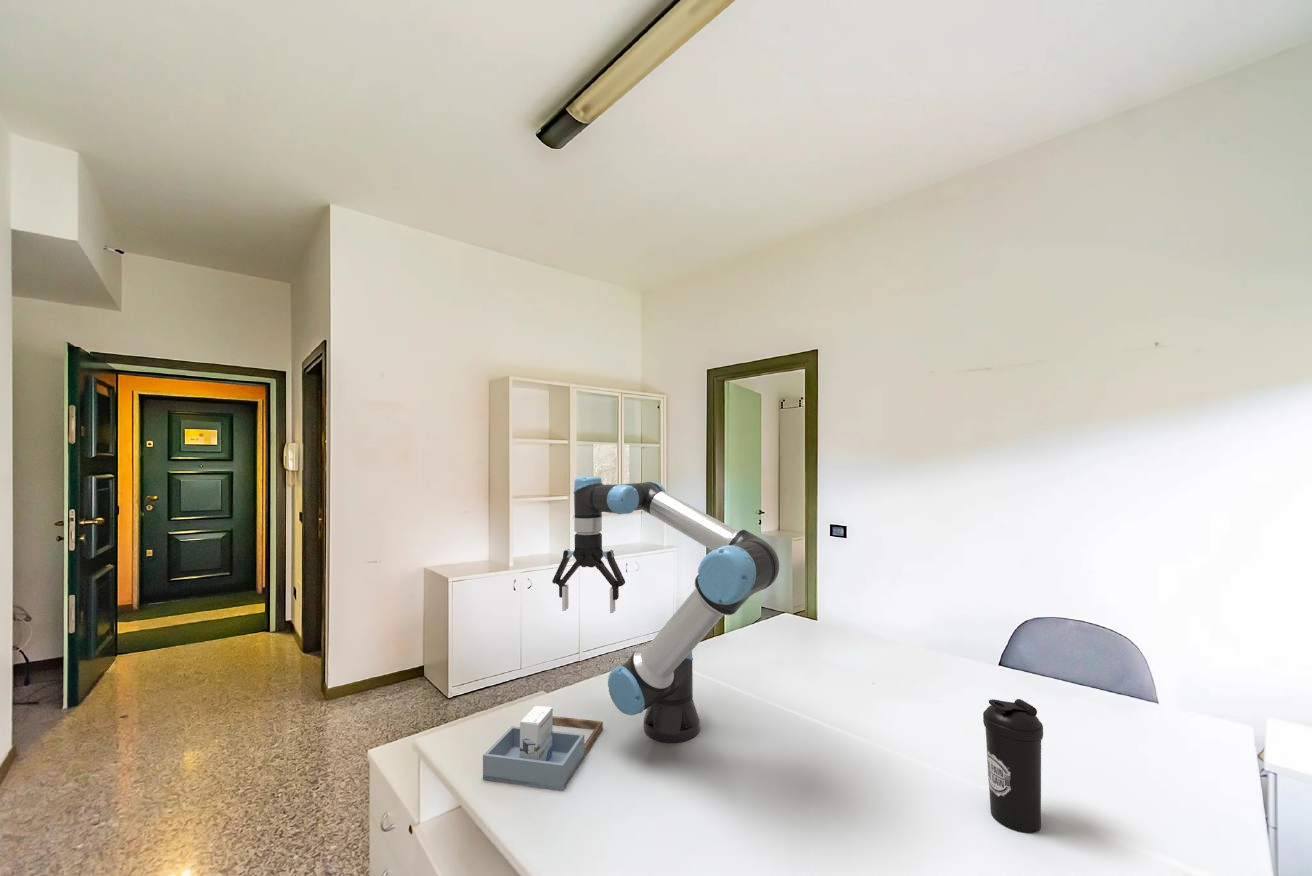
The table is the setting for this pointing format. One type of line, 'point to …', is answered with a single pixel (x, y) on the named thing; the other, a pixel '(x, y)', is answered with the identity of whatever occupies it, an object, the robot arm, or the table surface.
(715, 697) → the table surface
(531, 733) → the ink box
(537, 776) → the grey bin
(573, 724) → the walnut frame
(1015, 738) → the water bottle
